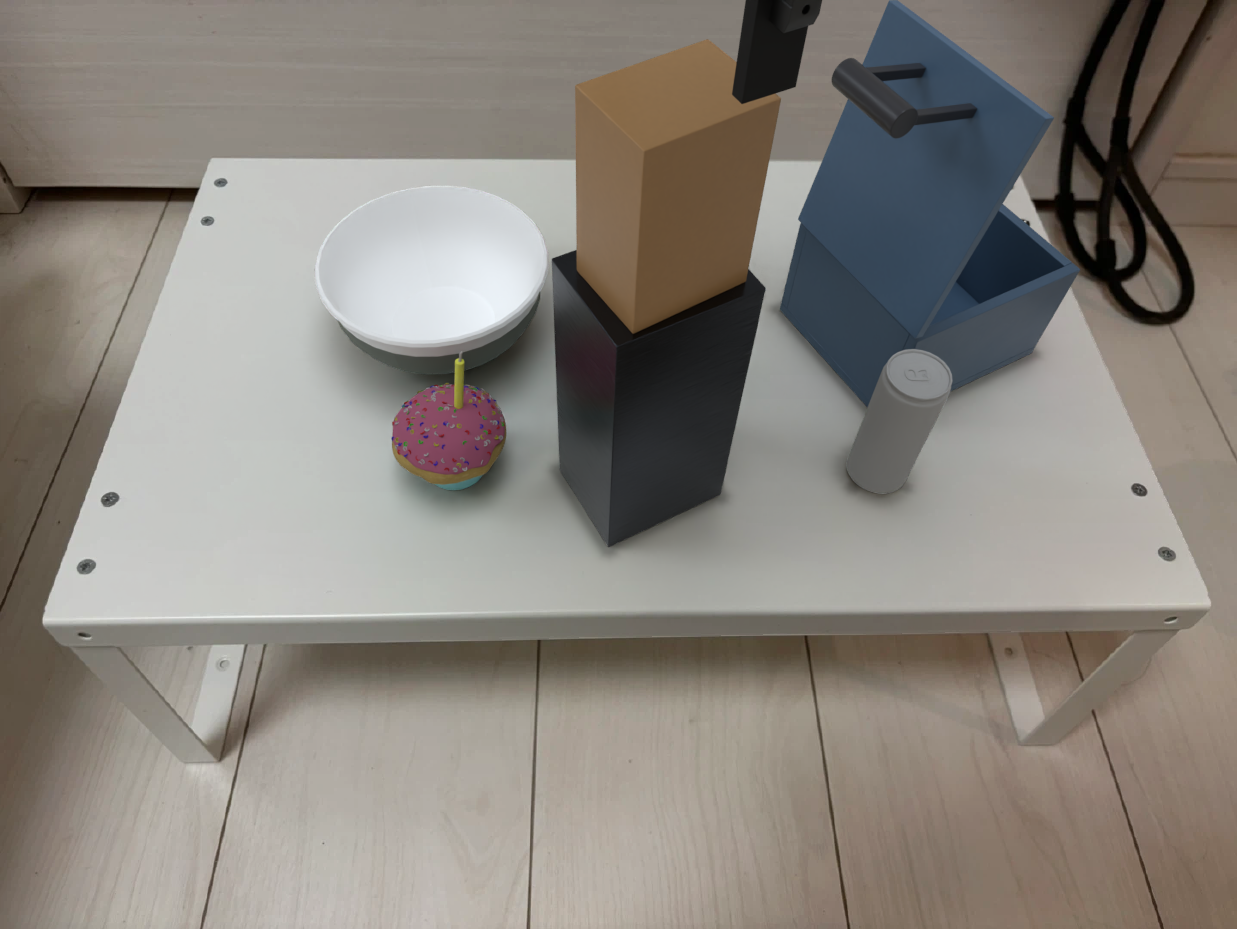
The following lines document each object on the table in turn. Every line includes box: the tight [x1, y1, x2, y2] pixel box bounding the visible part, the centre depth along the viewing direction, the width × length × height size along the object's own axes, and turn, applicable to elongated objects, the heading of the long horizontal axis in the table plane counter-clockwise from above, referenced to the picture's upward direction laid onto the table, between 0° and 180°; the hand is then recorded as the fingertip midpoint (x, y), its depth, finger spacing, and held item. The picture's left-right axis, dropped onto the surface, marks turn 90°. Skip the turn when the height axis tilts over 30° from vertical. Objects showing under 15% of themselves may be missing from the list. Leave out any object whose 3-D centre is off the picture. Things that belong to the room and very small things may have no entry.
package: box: [574, 38, 782, 334], centre depth 49 cm, size 6×8×12 cm
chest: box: [779, 203, 1081, 408], centre depth 79 cm, size 17×15×10 cm
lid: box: [797, 0, 1055, 339], centre depth 63 cm, size 18×15×8 cm
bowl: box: [313, 185, 550, 375], centre depth 78 cm, size 19×19×8 cm
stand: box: [551, 249, 767, 548], centre depth 63 cm, size 8×10×22 cm
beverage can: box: [845, 349, 952, 495], centre depth 69 cm, size 5×5×12 cm
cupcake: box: [391, 351, 507, 491], centre depth 68 cm, size 9×8×12 cm
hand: (678, 12), depth 42 cm, fingers open, 13 cm apart
